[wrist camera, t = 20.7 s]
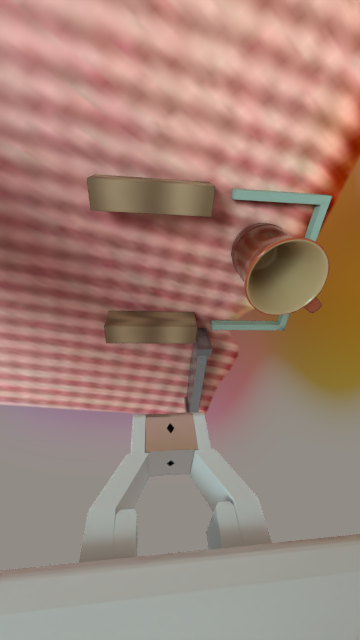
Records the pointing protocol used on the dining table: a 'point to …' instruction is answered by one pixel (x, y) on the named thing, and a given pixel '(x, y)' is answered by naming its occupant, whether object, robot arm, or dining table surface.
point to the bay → (311, 233)
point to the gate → (197, 370)
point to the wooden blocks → (154, 200)
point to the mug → (279, 269)
